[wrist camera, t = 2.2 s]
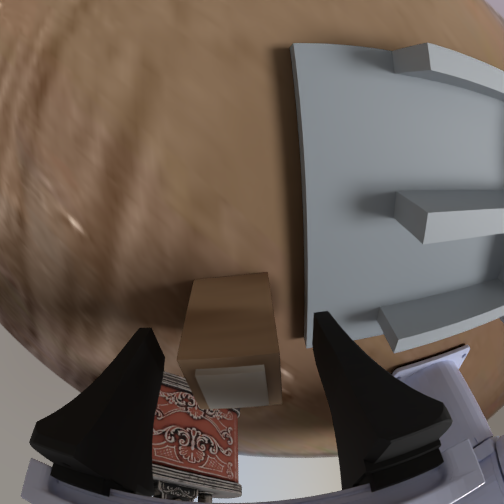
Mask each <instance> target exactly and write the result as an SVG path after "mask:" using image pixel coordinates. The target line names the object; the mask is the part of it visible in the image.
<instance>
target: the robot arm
mask: <svg viewBox="0 0 504 504" xmlns="http://www.w3.org/2000/svg"><path fill="white" fill-rule="evenodd" d="M312 346H313V351H314V357H315V361H316V366H317V369H318V372H319V375H320V378H321V381H322V384H323V387H324V390H325V394H326V397H327V400H328V403H329V406H330V410H331V415H332V420H333V425H334V431H335V437H336V443H337V449H338V457H339V464H340V472H341V484H342V490H341V491H337V492H332V493H327V494H322V495H317V496H311V497H305V498H298V499H290V500H281V501H271V502H257V503H202V502H187V501H177V500H168V499H161V498H154V497H151V496H153V495H154V494H155V492H154V483H153V469H152V440H153V425H154V418H155V412H156V407H157V403H158V398H159V394H160V389H161V384H162V380H163V373H164V362H165V356H164V354H163V352H162V350H161V348H160V346H159V344H158V341H157V339H156V337H155V335H154V332H153V330H152V328H139V329H138V331H137V332H136V333H135V334H134V335H133V337H132V338H131V339H130V340H129V342H128V343H127V344H126V345H125V347H124V348H123V349H122V350H121V352H120V353H119V354H118V355H117V357H116V358H115V359H114V360H113V361H112V362H111V364H110V365H109V366H108V367H107V368H106V369H105V370H104V371H103V373H102V374H101V375H100V376H99V377H98V378H97V379H96V380H95V381H94V382H93V383H92V384H91V385H90V386H89V387H88V388H87V389H85V390H84V391H83V392H82V393H81V394H79V395H78V396H77V397H76V398H74V399H73V400H72V401H71V402H69V403H68V404H66V405H65V406H64V407H62V408H61V409H59V410H57V411H56V412H54V413H53V414H51V415H49V416H47V417H45V418H43V419H41V420H39V421H37V422H36V425H35V428H34V430H33V433H32V436H31V439H30V442H29V443H30V445H31V446H32V447H33V448H34V449H35V450H36V451H37V452H39V453H40V454H41V455H43V456H44V457H46V458H47V459H49V460H50V461H52V462H53V466H52V467H51V466H49V465H47V464H45V463H42V462H40V461H38V460H35V459H33V458H31V460H30V463H29V466H28V470H27V473H26V477H25V481H24V485H23V489H22V493H21V497H22V498H23V499H25V500H27V501H28V502H30V503H32V504H504V435H502V436H500V437H499V436H495V437H493V434H492V432H491V429H490V427H489V425H488V423H487V421H486V419H485V417H484V415H483V413H482V411H481V409H480V407H479V405H478V403H477V401H476V399H475V398H474V396H473V394H472V392H471V390H470V388H469V387H468V385H467V383H466V381H465V380H464V378H463V376H462V374H461V373H460V371H459V368H460V366H461V364H462V363H463V361H464V359H465V357H466V356H467V354H468V352H469V350H470V347H469V345H465V346H462V347H460V348H457V349H454V350H452V351H449V352H446V353H443V354H441V355H438V356H435V357H432V358H429V359H426V360H423V361H420V362H416V363H413V364H410V365H407V366H403V367H400V368H397V369H396V370H395V371H394V372H393V374H392V375H391V374H390V373H389V372H387V371H386V370H385V369H383V368H382V367H381V366H380V365H378V364H377V363H376V362H375V361H374V360H373V359H371V358H370V357H369V356H368V355H367V354H366V353H365V352H364V351H363V350H362V349H361V348H360V347H359V346H358V345H357V344H356V343H355V342H354V341H353V340H352V339H351V338H350V337H349V335H348V334H347V333H346V332H345V331H344V330H343V329H342V327H341V326H340V325H339V324H338V323H337V321H336V320H335V319H334V318H333V316H332V315H331V314H330V312H328V311H322V312H316V313H314V318H313V339H312Z"/></svg>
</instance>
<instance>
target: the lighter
mask: <svg viewBox="0 0 504 504" xmlns="http://www.w3.org/2000/svg"><path fill="white" fill-rule="evenodd" d="M239 416H240V408H228V409H200V407H199V406H198V404H197V402H196V400H195V398H194V396H193V394H192V392H191V390H190V387H189V385H188V383H187V381H186V379H185V378H182V377H180V376H177V375H173V374H170V373H167V372H164V373H163V380H162V384H161V389H160V394H159V398H158V403H157V407H156V412H155V418H154V425H153V440H152V469H153V483H154V492H155V494H154V495H153V497H154V498H161V499H168V500H177V501H187V502H193V501H194V499H195V498H197V496H198V502H202V503H212V498H235V497H240V496H241V495H242V491H241V490H242V487H241V485H240V484H238V419H237V418H238V417H239Z"/></svg>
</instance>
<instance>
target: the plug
mask: <svg viewBox="0 0 504 504" xmlns="http://www.w3.org/2000/svg"><path fill="white" fill-rule="evenodd" d="M177 362H178V364H179V366H180V368H181V370H182V373H183V375H184V377H185V379H186V381H187V383H188V385H189V387H190V390H191V392H192V394H193V396H194V398H195V400H196V402H197V404H198V406H199V407H200V409H228V408H246V407H259V406H269V405H278V404H282V387H281V369H280V352H279V345H278V338H277V332H276V325H275V318H274V312H273V305H272V298H271V292H270V285H269V279H268V272H263V273H253V274H244V275H235V276H225V277H215V278H205V279H194V282H193V286H192V291H191V295H190V299H189V304H188V308H187V313H186V317H185V322H184V326H183V331H182V336H181V341H180V346H179V351H178V356H177Z"/></svg>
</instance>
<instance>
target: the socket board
mask: <svg viewBox="0 0 504 504" xmlns="http://www.w3.org/2000/svg"><path fill="white" fill-rule="evenodd" d="M290 53H291V61H292V70H293V79H294V88H295V98H296V109H297V120H298V133H299V146H300V161H301V178H302V198H303V225H304V277H305V304H304V340H305V344H306V348H311V347H313V346H312V339H313V318H314V313H316V312H322V311H328V312H330V314H331V315H332V316H333V318H334V319H335V320H336V321H337V323H338V324H339V325H340V326H341V327H342V329H343V330H344V331H345V332H346V333H347V334H348V335H349V337H350V338H351V339H352V340H358V339H363V338H368V337H372V336H377V335H382V334H384V335H385V337H386V339H387V341H388V343H389V345H390V347H391V349H392V351H393V353H397V352H401V351H405V350H408V349H412V348H415V347H419V346H422V345H425V344H429V343H432V342H435V341H438V340H441V339H444V338H447V337H450V336H453V335H456V334H459V333H461V332H464V331H467V330H470V329H472V328H475V327H477V326H480V325H482V324H485V323H487V322H490V321H492V320H495V319H497V318H500V319H501V321H502V322H503V323H504V71H502V70H500V69H498V68H495V67H493V66H491V65H489V64H486V63H484V62H482V61H479V60H477V59H474V58H472V57H469V56H467V55H464V54H461V53H459V52H456V51H453V50H450V49H447V48H444V47H441V46H437V45H434V44H431V43H423V44H419V45H414V46H410V47H406V48H402V49H398V50H394V51H388V50H382V49H375V48H368V47H359V46H350V45H337V44H318V43H293V44H292V46H291V47H290Z"/></svg>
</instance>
